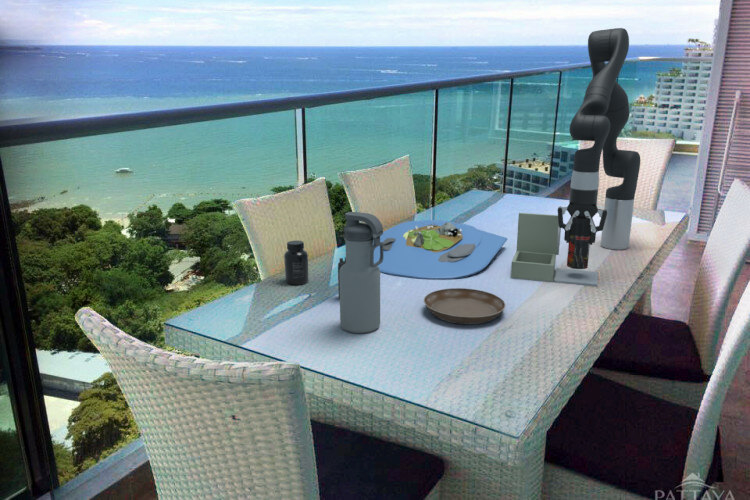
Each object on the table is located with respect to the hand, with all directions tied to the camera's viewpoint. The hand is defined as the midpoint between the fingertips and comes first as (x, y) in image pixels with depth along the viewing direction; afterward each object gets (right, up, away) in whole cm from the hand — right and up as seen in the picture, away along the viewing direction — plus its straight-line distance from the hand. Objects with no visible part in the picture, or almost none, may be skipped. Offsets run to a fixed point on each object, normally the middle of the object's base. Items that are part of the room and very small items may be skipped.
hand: (579, 242), depth 186 cm
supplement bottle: (-83, -12, +1) cm, 83 cm away
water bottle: (-63, -21, -31) cm, 73 cm away
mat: (0, -10, +3) cm, 11 cm away
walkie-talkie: (-67, -15, -12) cm, 70 cm away
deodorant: (0, -7, +2) cm, 7 cm away
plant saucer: (-37, -18, -22) cm, 47 cm away
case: (-12, -9, +7) cm, 16 cm away
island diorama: (-42, -5, +24) cm, 49 cm away
